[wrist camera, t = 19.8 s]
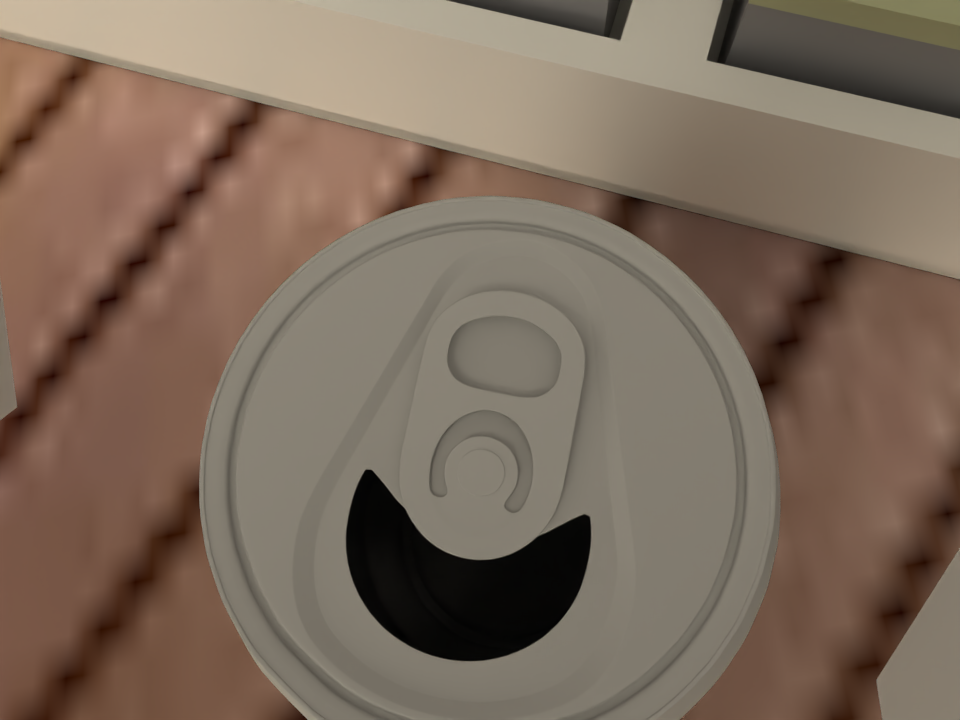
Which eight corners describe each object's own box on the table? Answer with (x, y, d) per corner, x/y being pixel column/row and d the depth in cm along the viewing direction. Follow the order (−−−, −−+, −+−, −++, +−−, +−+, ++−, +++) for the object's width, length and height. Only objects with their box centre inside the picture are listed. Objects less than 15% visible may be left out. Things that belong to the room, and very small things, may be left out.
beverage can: (341, 643, 20) (69, 736, 8) (405, 367, 21) (253, 112, 10) (625, 708, 19) (771, 911, 7) (672, 420, 21) (857, 213, 9)
